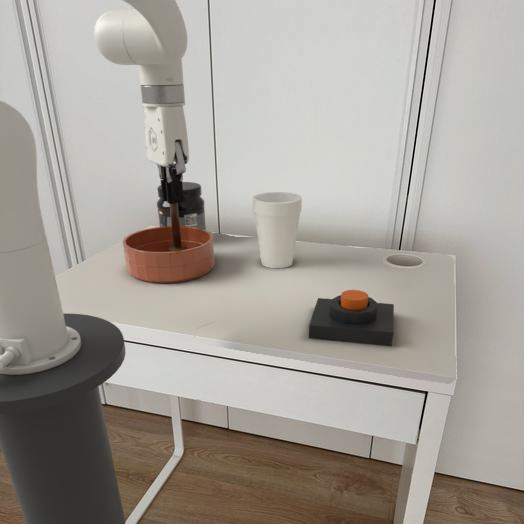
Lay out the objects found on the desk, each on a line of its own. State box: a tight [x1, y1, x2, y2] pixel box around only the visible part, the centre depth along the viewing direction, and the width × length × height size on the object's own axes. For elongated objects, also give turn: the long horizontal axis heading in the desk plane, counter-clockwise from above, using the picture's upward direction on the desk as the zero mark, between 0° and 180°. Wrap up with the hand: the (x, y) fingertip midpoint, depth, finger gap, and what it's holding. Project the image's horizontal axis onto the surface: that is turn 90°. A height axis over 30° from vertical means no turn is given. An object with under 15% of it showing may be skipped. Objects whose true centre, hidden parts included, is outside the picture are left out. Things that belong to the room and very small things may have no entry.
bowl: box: [122, 226, 216, 284], centre depth 102 cm, size 17×17×6 cm
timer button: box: [340, 289, 369, 310], centre depth 77 cm, size 4×4×2 cm
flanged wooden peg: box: [167, 181, 187, 252], centre depth 102 cm, size 4×4×16 cm
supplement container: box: [156, 181, 207, 230], centre depth 116 cm, size 10×10×12 cm
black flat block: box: [308, 294, 395, 347], centre depth 79 cm, size 10×12×4 cm
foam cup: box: [252, 191, 303, 269], centre depth 102 cm, size 10×9×13 cm
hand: (173, 200), depth 101 cm, fingers closed on flanged wooden peg
